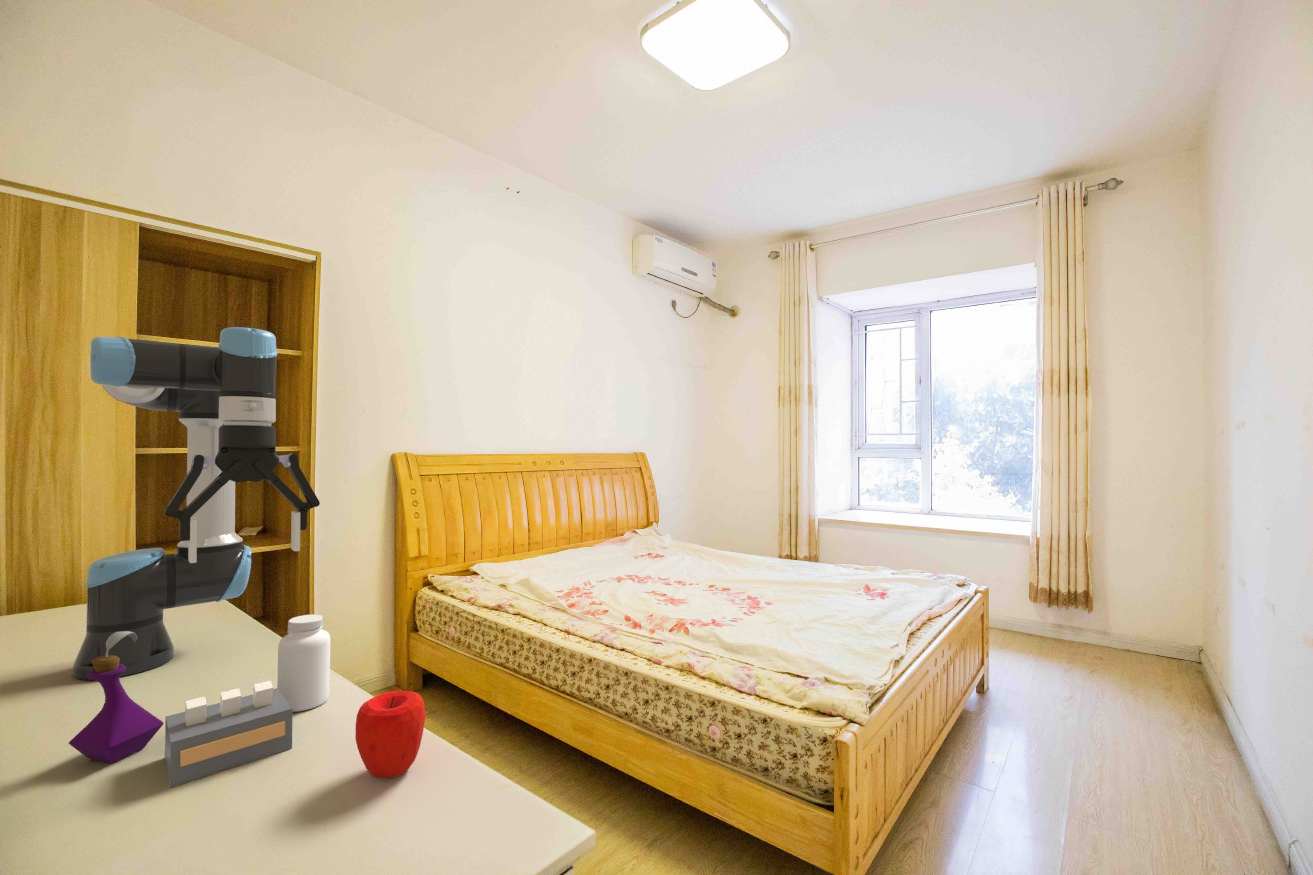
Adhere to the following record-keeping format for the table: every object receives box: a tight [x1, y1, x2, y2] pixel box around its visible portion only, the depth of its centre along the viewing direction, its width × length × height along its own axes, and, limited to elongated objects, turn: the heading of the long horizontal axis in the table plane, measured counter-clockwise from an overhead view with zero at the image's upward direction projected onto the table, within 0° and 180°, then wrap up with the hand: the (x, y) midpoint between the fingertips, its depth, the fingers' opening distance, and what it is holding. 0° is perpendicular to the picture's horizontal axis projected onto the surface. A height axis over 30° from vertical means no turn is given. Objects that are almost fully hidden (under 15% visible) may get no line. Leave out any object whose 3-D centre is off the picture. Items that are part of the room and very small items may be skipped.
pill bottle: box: [276, 614, 331, 713], centre depth 100 cm, size 8×8×15 cm
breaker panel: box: [164, 687, 293, 788], centre depth 84 cm, size 10×14×6 cm
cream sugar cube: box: [252, 680, 274, 708], centre depth 87 cm, size 2×2×3 cm
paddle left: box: [184, 696, 208, 727], centre depth 81 cm, size 2×2×3 cm
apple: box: [355, 690, 427, 779], centre depth 79 cm, size 9×9×11 cm
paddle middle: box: [219, 687, 242, 717], centre depth 84 cm, size 2×2×3 cm
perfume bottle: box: [68, 631, 164, 764], centre depth 84 cm, size 8×8×18 cm
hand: (246, 555), depth 91 cm, fingers open, 13 cm apart
